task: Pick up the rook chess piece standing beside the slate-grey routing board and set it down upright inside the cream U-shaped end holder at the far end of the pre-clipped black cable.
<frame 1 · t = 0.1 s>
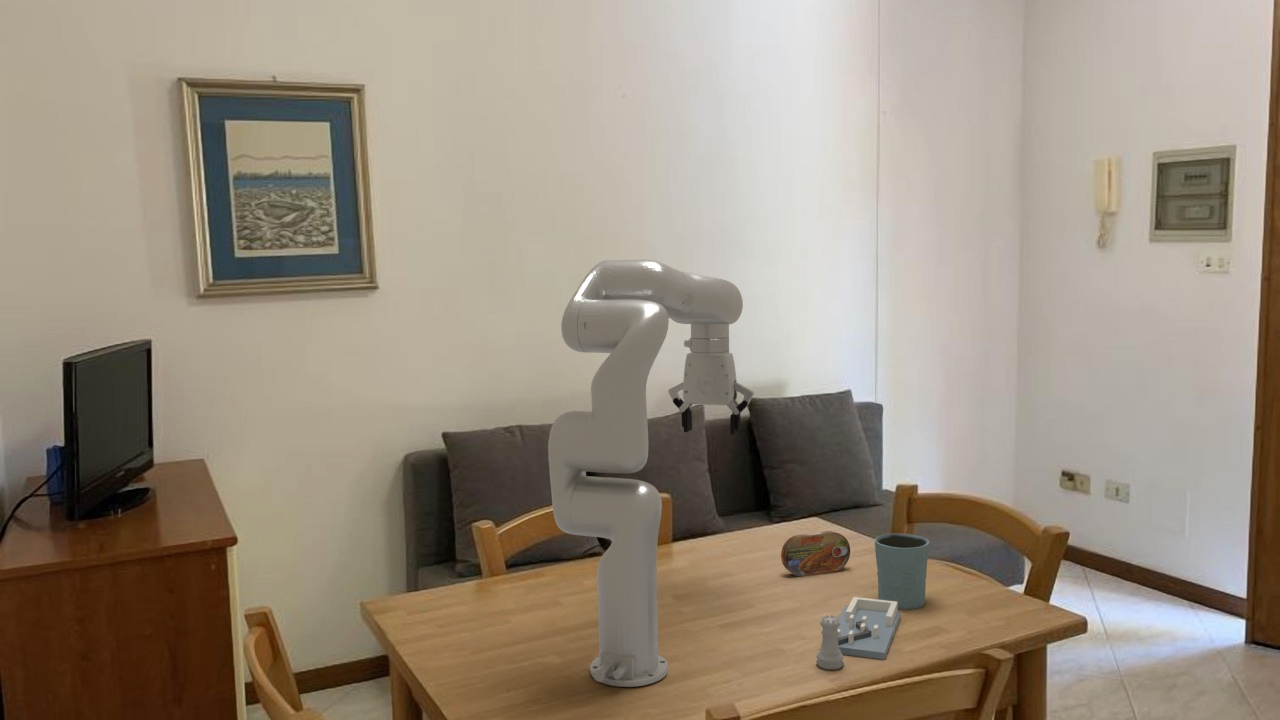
hand: (710, 432, 204), 31 cm above the table, tool pointing down, fingers open, 9 cm apart
tin: (815, 573, 214), on the table
route board: (863, 634, 180), on the table
rook chess piece: (830, 666, 168), on the table
teal cup: (901, 602, 196), on the table
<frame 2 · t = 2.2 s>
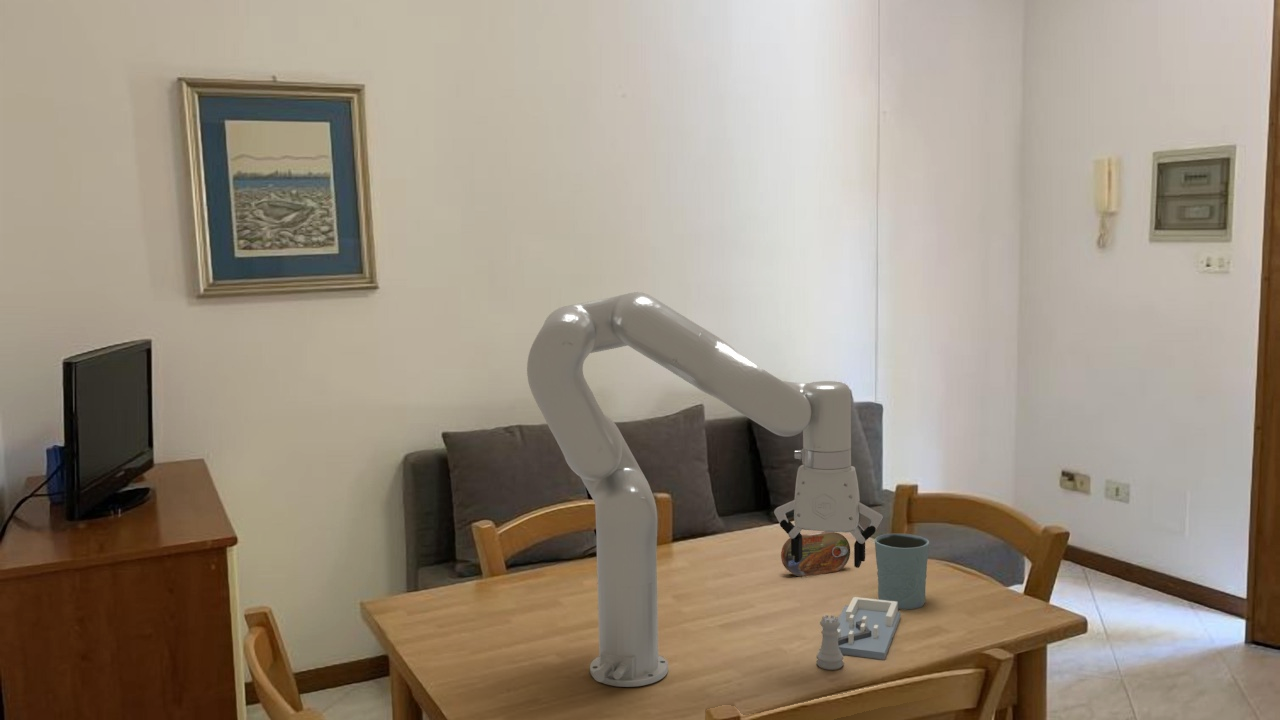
hand: (828, 562, 167), 17 cm above the table, tool pointing down, fingers open, 9 cm apart
nothing on the table moved.
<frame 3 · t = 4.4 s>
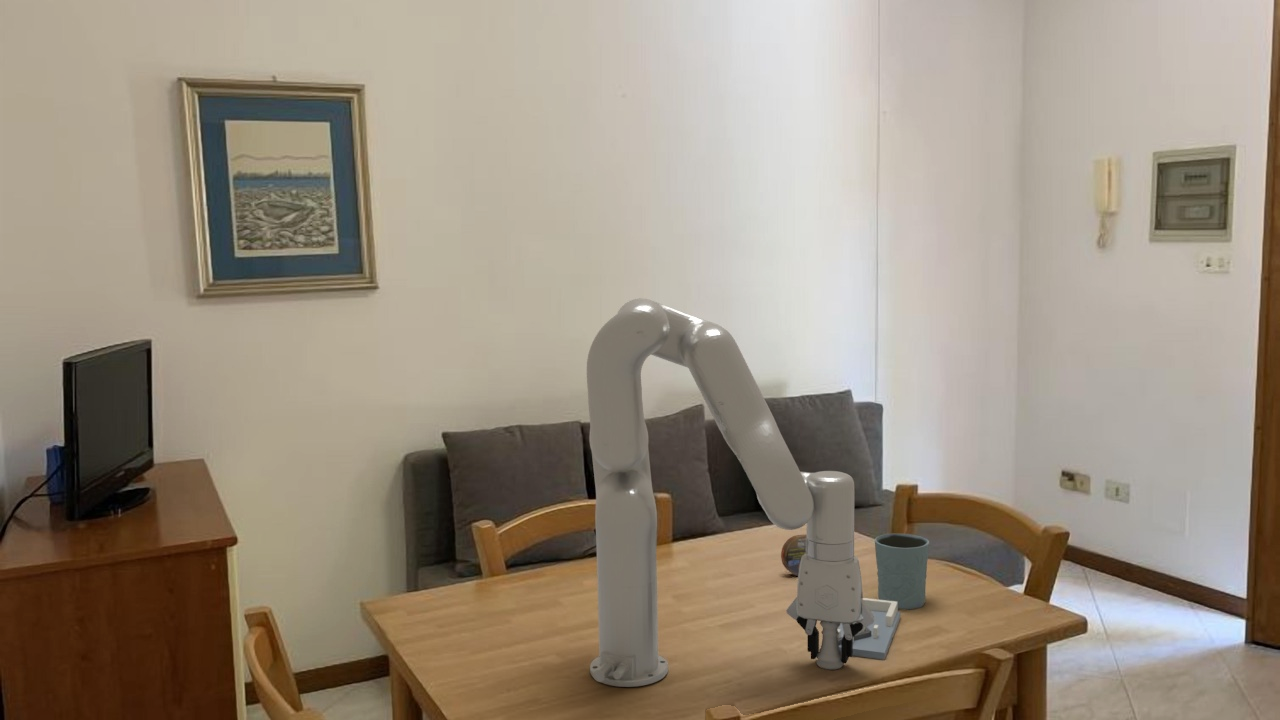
hand: (830, 657, 167), 1 cm above the table, tool pointing down, fingers closed on rook chess piece, 4 cm apart
rook chess piece: (830, 666, 168), on the table, touching gripper
everything else where it was.
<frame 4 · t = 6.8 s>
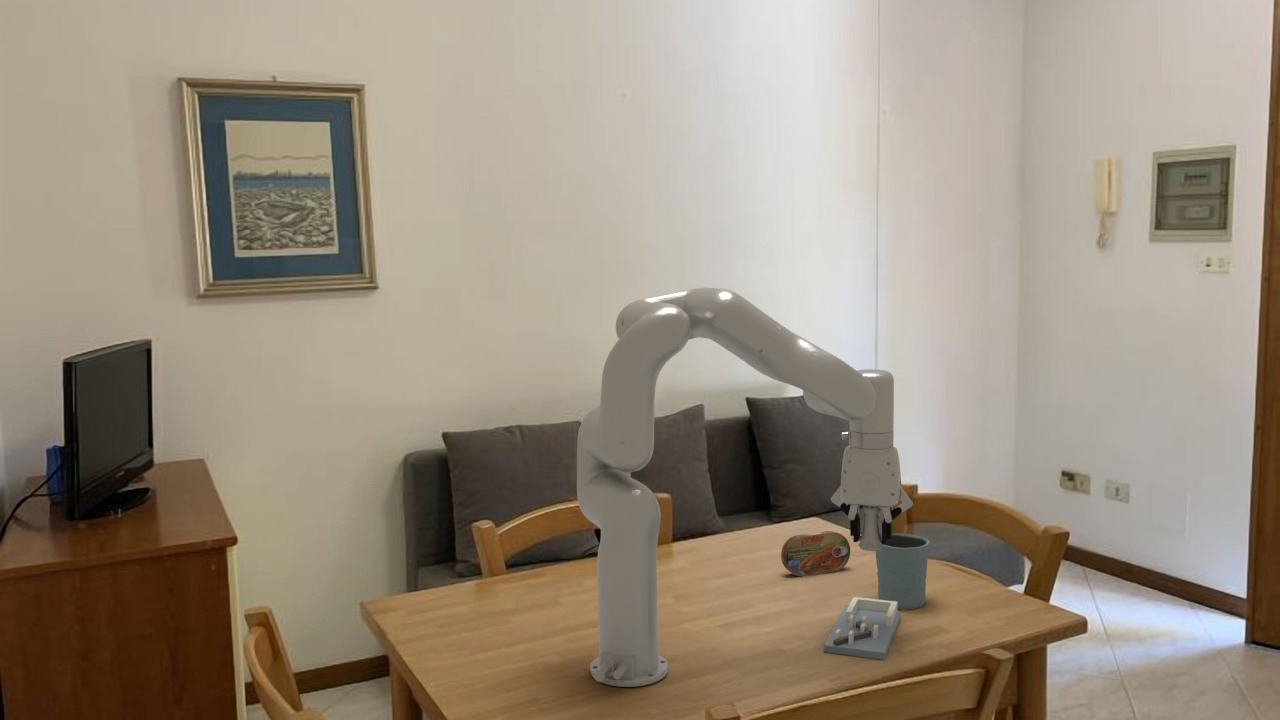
hand: (871, 540, 183), 16 cm above the table, tool pointing down, fingers closed on rook chess piece, 4 cm apart
rook chess piece: (870, 548, 183), point 14 cm above the table, touching gripper
everything else where it was.
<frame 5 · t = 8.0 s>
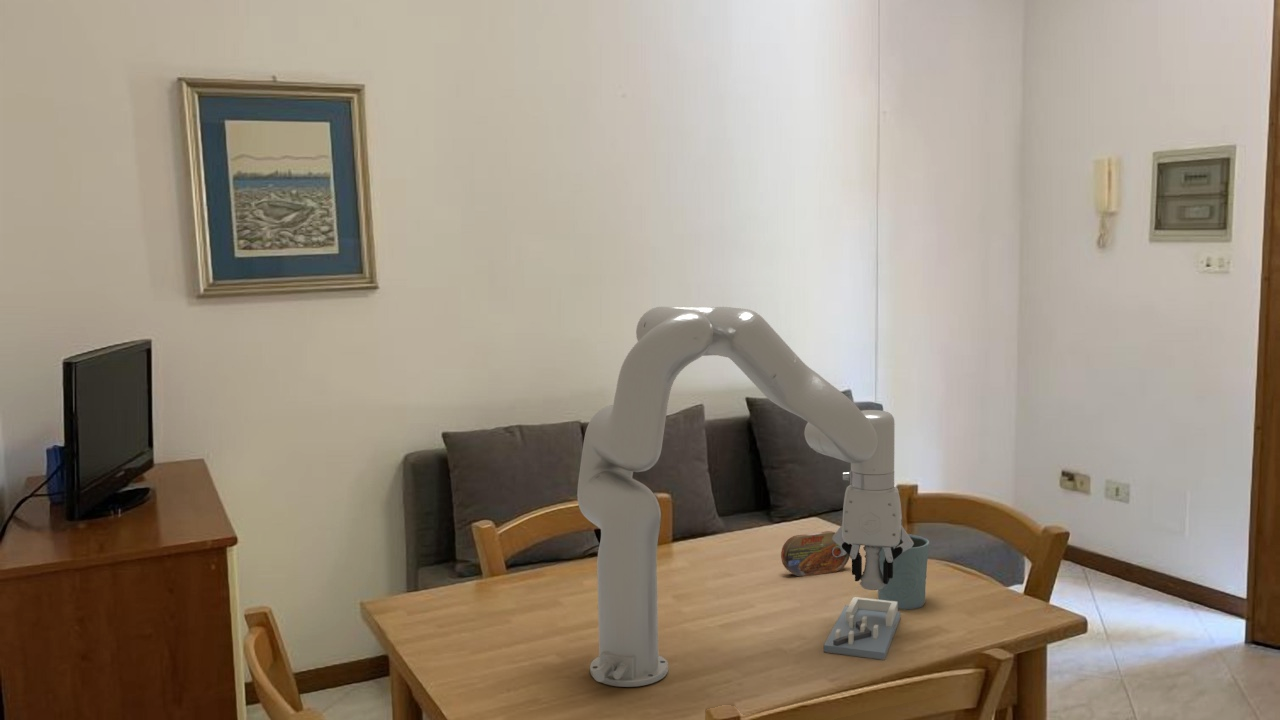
hand: (872, 579, 184), 8 cm above the table, tool pointing down, fingers closed on rook chess piece, 4 cm apart
rook chess piece: (872, 587, 184), point 7 cm above the table, touching gripper
everything else where it was.
when the fingers open (4 cm above the table, at t = 9.0 s): rook chess piece drops 1 cm, resting on route board.
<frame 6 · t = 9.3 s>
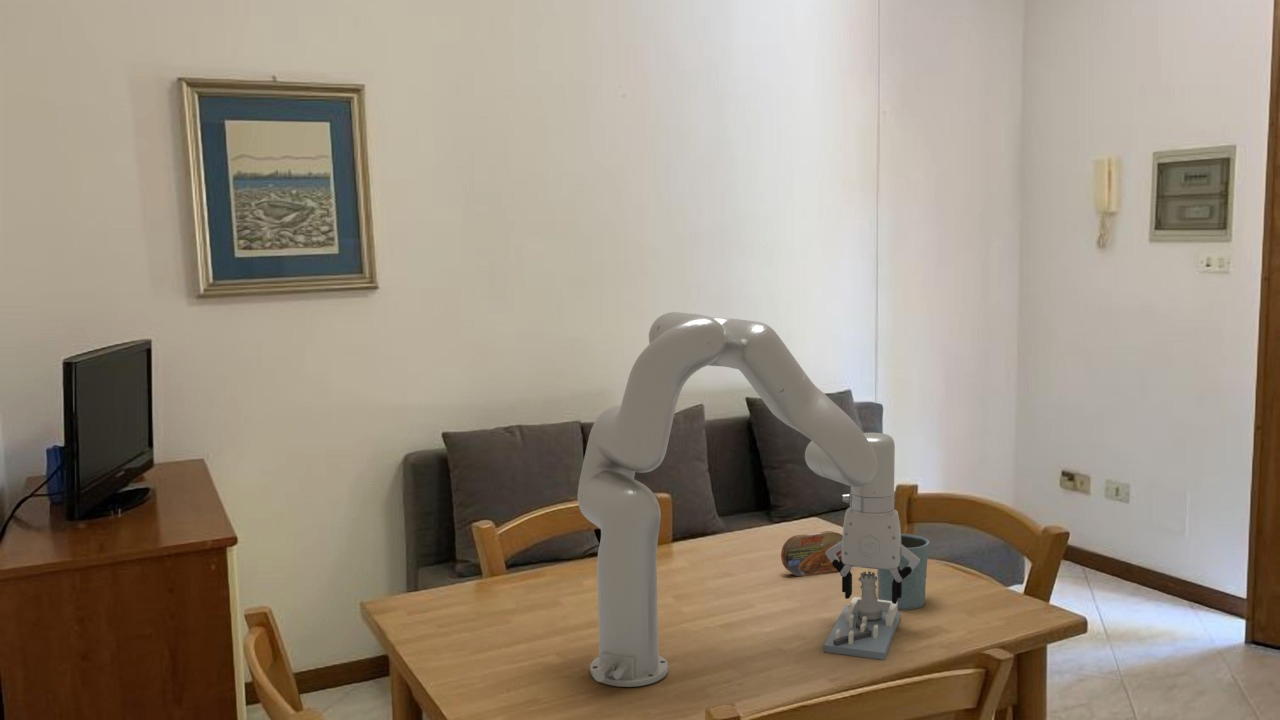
hand: (871, 598, 185), 5 cm above the table, tool pointing down, fingers open, 7 cm apart
rook chess piece: (870, 617, 185), point 1 cm above the table, touching route board
everything else where it was.
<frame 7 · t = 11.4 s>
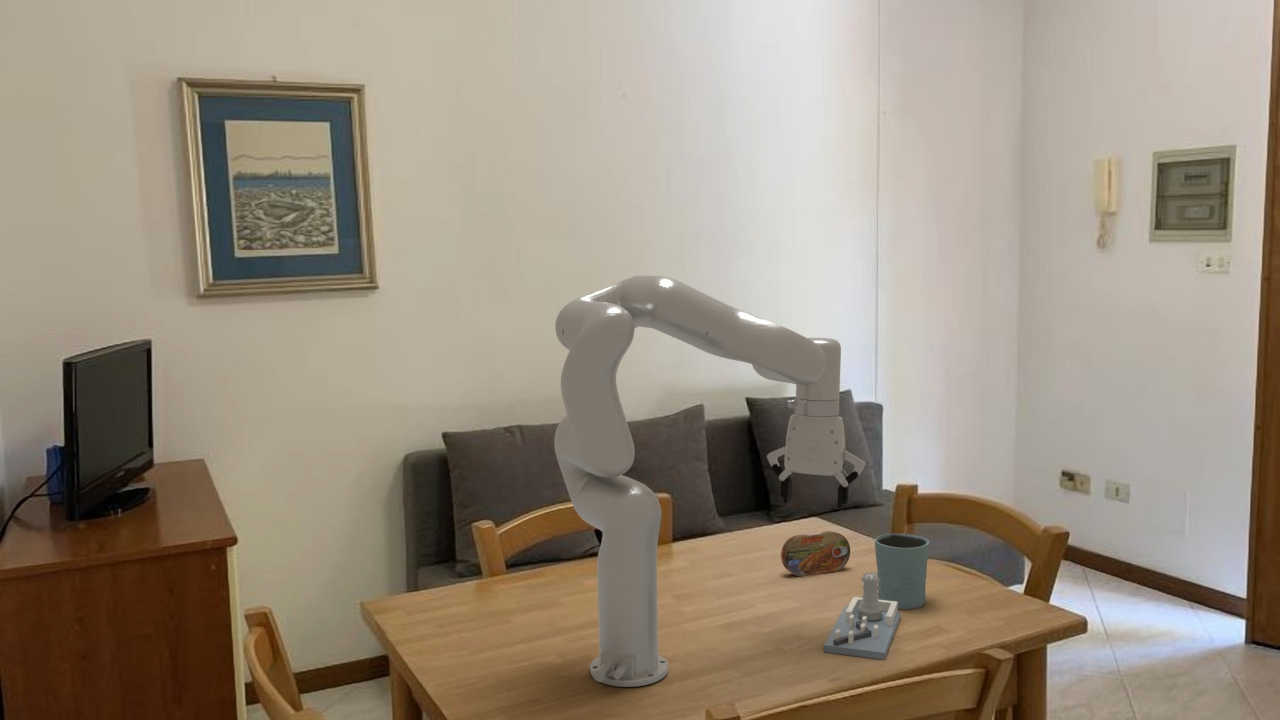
hand: (813, 504, 182), 22 cm above the table, tool pointing down, fingers open, 9 cm apart
nothing on the table moved.
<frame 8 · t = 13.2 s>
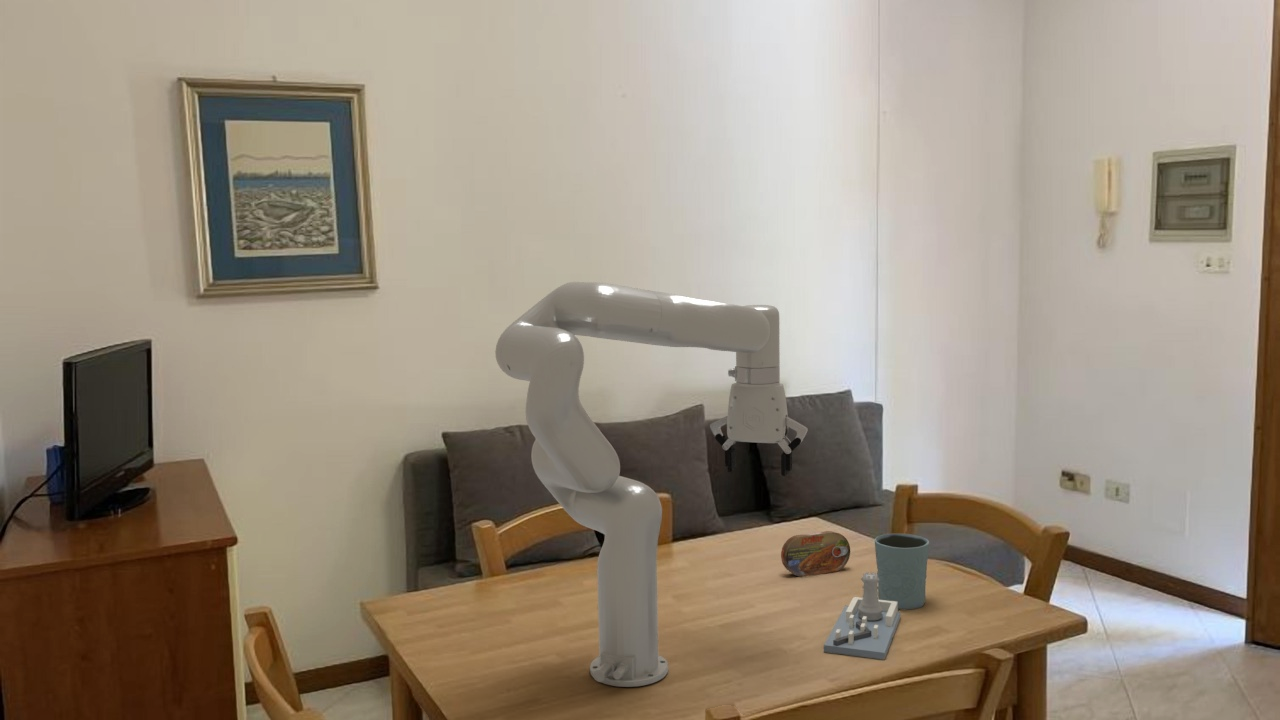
hand: (758, 472, 181), 28 cm above the table, tool pointing down, fingers open, 9 cm apart
nothing on the table moved.
at the end: rook chess piece 0.3 cm from the target spot on the route board, point 1.0 cm above the route board's base; rook chess piece tilted 0°; the gripper is holding nothing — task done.
